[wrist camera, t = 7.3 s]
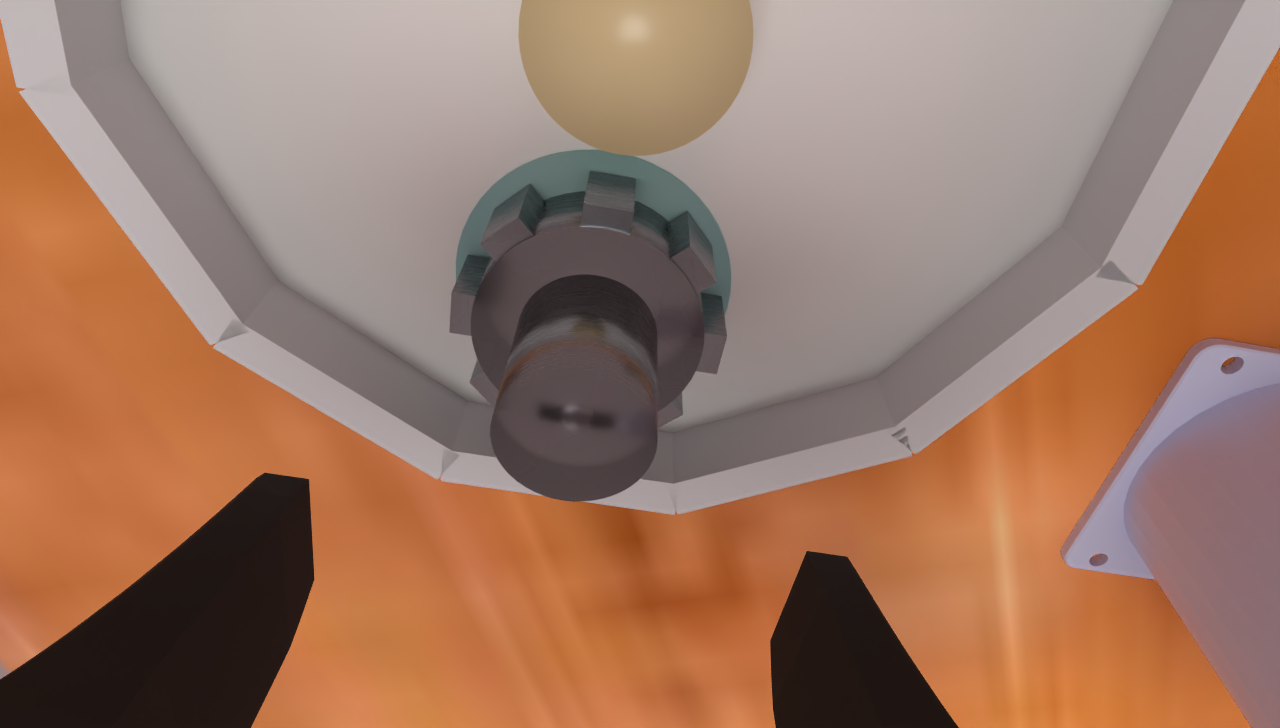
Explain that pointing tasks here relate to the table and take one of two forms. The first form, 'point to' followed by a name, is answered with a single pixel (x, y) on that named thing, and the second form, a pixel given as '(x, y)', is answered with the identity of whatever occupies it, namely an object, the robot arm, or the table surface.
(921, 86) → the carrier
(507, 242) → the planet gear
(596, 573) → the table surface
